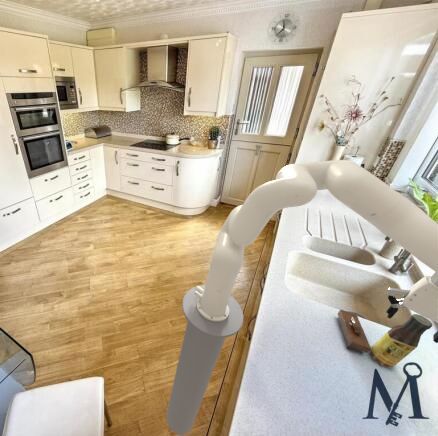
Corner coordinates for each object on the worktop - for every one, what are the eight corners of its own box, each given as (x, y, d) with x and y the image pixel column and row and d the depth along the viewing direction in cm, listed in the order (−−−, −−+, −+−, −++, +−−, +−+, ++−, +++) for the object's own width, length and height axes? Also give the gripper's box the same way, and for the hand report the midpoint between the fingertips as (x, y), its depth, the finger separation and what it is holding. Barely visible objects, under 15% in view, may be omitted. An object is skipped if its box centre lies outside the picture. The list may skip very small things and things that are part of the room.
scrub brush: (334, 317, 88) (342, 306, 85) (350, 322, 87) (359, 311, 83) (345, 350, 77) (355, 339, 74) (363, 356, 75) (374, 345, 72)
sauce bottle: (373, 364, 73) (413, 324, 63) (364, 346, 78) (400, 307, 68) (398, 372, 71) (443, 332, 62) (387, 353, 77) (427, 314, 67)
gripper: (507, 298, 55) (455, 341, 64) (408, 260, 66) (374, 301, 75) (513, 315, 51) (456, 359, 59) (405, 271, 62) (370, 313, 70)
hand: (411, 326), depth 67 cm, fingers open, 9 cm apart
